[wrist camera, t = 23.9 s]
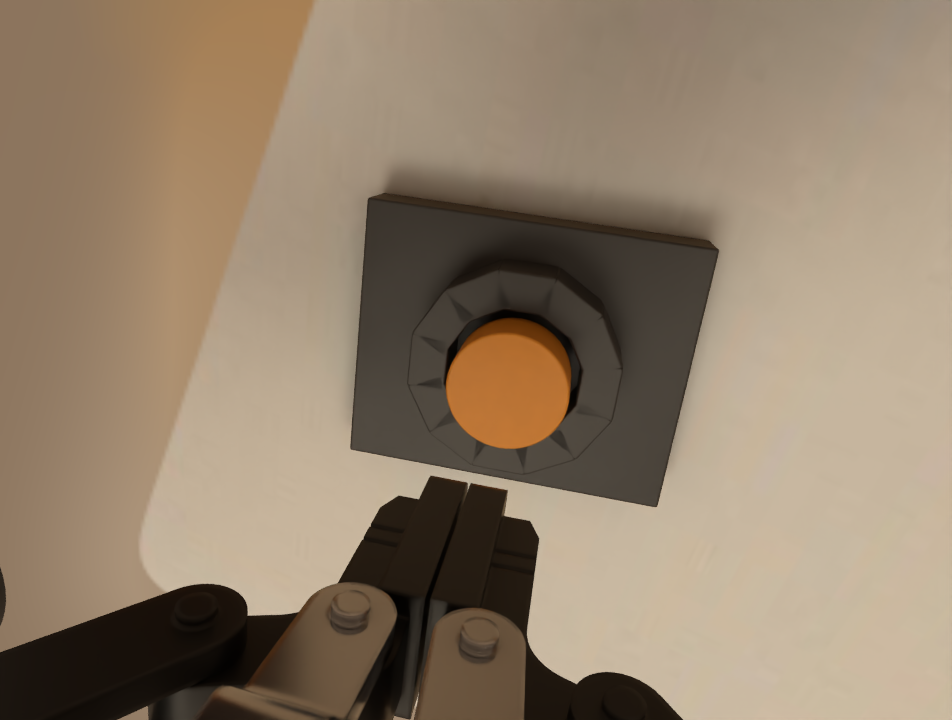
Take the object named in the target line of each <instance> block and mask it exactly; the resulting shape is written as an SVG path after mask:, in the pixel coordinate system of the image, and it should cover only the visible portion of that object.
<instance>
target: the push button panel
mask: <svg viewBox="0 0 952 720" xmlns="http://www.w3.org/2000/svg"><path fill="white" fill-rule="evenodd" d="M718 253H719V250H718V249H717V248H716V247H715V246H714V245H713V244H712V243H711V242H710V241H707V240H700V239H693V238H687V237H680V236H673V235H666V234H659V233H653V232H646V231H639V230H632V229H625V228H618V227H612V226H605V225H598V224H591V223H584V222H578V221H571V220H564V219H557V218H550V217H544V216H537V215H530V214H523V213H516V212H509V211H503V210H496V209H489V208H482V207H475V206H469V205H462V204H455V203H448V202H441V201H435V200H428V199H421V198H414V197H407V196H401V195H394V194H387V193H383V194H379V195H376V196H373V197H370V198H368V205H367V219H366V233H365V247H364V261H363V275H362V290H361V304H360V318H359V332H358V346H357V360H356V374H355V389H354V403H353V417H352V431H351V445H350V448H351V449H352V450H356V451H362V452H367V453H372V454H378V455H383V456H388V457H393V458H399V459H404V460H409V461H414V462H420V463H425V464H430V465H435V466H441V467H446V468H451V469H457V470H462V471H467V472H472V473H478V474H483V475H488V476H493V477H499V478H504V479H509V480H515V481H520V482H525V483H530V484H536V485H541V486H546V487H551V488H557V489H562V490H567V491H572V492H578V493H583V494H588V495H594V496H599V497H604V498H609V499H615V500H620V501H625V502H630V503H636V504H641V505H646V506H652V507H657V505H658V501H659V497H660V493H661V489H662V485H663V481H664V476H665V472H666V468H667V464H668V460H669V456H670V452H671V448H672V443H673V439H674V435H675V431H676V427H677V423H678V419H679V415H680V410H681V406H682V402H683V398H684V394H685V390H686V386H687V381H688V377H689V373H690V369H691V365H692V361H693V357H694V353H695V348H696V344H697V340H698V336H699V332H700V328H701V324H702V320H703V315H704V311H705V307H706V303H707V299H708V295H709V291H710V287H711V282H712V278H713V274H714V270H715V266H716V262H717V258H718ZM502 318H522V319H526V320H530V321H533V322H535V323H538V324H539V325H541V326H543V327H545V328H546V329H548V330H549V331H550V332H551V333H553V334H554V335H555V336H556V337H557V339H558V340H559V341H560V342H561V344H562V345H563V347H564V348H565V350H566V352H567V355H568V357H569V361H570V365H571V387H570V397H569V404H568V408H567V411H566V414H565V416H564V418H563V420H562V422H561V423H560V425H559V426H558V427H557V428H556V430H555V431H554V432H553V433H552V434H550V435H549V436H548V437H546V438H545V439H544V440H542V441H540V442H538V443H536V444H533V445H531V446H527V447H523V448H516V449H504V448H497V447H493V446H490V445H487V444H484V443H482V442H480V441H478V440H476V439H475V438H474V437H472V436H471V435H469V434H468V433H467V432H466V431H465V430H464V429H463V428H462V427H461V426H460V425H459V424H458V422H457V421H456V419H455V418H454V416H453V414H452V412H451V410H450V407H449V405H448V401H447V396H446V380H447V374H448V371H449V368H450V366H451V364H452V362H453V360H454V358H455V357H456V355H457V353H458V352H459V350H460V348H461V347H462V345H463V343H464V342H465V341H466V339H467V338H468V337H469V336H470V335H471V333H472V332H474V331H475V330H476V329H477V328H479V327H480V326H482V325H484V324H486V323H488V322H490V321H493V320H497V319H502Z"/></svg>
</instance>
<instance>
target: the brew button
mask: <svg viewBox="0 0 952 720" xmlns="http://www.w3.org/2000/svg"><path fill="white" fill-rule="evenodd" d="M570 387H571V365H570V361H569V357H568V355H567V352H566V350H565V348H564V347H563V345H562V344H561V342H560V341H559V340H558V339H557V337H556V336H555V335H554V334H553V333H551V332H550V331H549V330H548V329H546V328H545V327H543V326H541V325H539V324H538V323H535V322H533V321H530V320H526V319H522V318H502V319H497V320H493V321H490V322H488V323H486V324H484V325H482V326H480V327H479V328H477V329H476V330H475V331H474V332H472V333H471V335H470V336H469V337H468V338H467V339H466V341H465V342H464V343H463V345H462V347H461V348H460V350H459V352H458V353H457V355H456V357H455V358H454V360H453V362H452V364H451V366H450V368H449V371H448V374H447V380H446V396H447V401H448V405H449V407H450V410H451V412H452V414H453V416H454V418H455V419H456V421H457V422H458V424H459V425H460V426H461V427H462V428H463V429H464V430H465V431H466V432H467V433H468V434H469V435H471V436H472V437H474V438H475V439H476V440H478V441H480V442H482V443H484V444H487V445H490V446H493V447H497V448H504V449H516V448H523V447H527V446H531V445H533V444H536V443H538V442H540V441H542V440H544V439H545V438H546V437H548V436H549V435H550V434H552V433H553V432H554V431H555V430H556V428H557V427H558V426H559V425H560V423H561V422H562V420H563V418H564V416H565V414H566V411H567V408H568V404H569V397H570Z"/></svg>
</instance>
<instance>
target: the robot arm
mask: <svg viewBox="0 0 952 720" xmlns="http://www.w3.org/2000/svg"><path fill="white" fill-rule="evenodd" d="M467 489H468V483H466V482H461V481H456V480H451V479H445V478H440V477H435V476H430V477H429V479H428V482H427V484H426V486H425V488H424V490H423V492H422V494H421V496H420V498H419V499H413V498H408V497H403V496H397V497H396V498H394V499H393V500H391V501H390V502H388V503H387V504H385V505H383V506H382V507H380V509H379V511H378V513H377V514H376V516H375V518H374V520H373V521H372V523H371V527H369V529H368V530H367V532H366V534H365V536H364V539H363V540H362V541H361V543H360V545H359V546H358V548H357V550H356V552H355V553H354V555H353V557H352V559H351V561H350V562H349V564H348V566H347V568H346V569H345V571H344V573H343V575H342V577H341V578H340V580H339V582H338V583H337V584H334V585H330V586H327V587H325V588H323V589H321V590H319V591H317V592H316V593H315V594H313V595H312V596H311V597H310V598H309V599H308V601H307V602H306V603H305V605H304V606H303V607H302V609H301V610H300V611H299V612H297V613H292V614H285V615H260V616H247V615H248V611H247V604H246V601H245V600H244V598H243V597H242V596H241V595H240V594H239V593H238V592H236V591H234V590H233V589H230V588H228V587H225V586H221V585H215V584H197V585H191V586H186V587H183V588H179V589H176V590H173V591H171V592H168V593H165V594H162V595H159V596H157V597H154V598H151V599H148V600H146V601H143V602H140V603H137V604H134V605H131V606H129V607H126V608H123V609H120V610H117V611H115V612H112V613H109V614H106V615H104V616H101V617H98V618H95V619H92V620H90V621H87V622H84V623H81V624H78V625H76V626H73V627H70V628H67V629H64V630H62V631H59V632H56V633H53V634H50V635H48V636H45V637H42V638H39V639H36V640H34V641H31V642H28V643H25V644H22V645H20V646H17V647H14V648H12V649H8V650H6V651H3V652H0V720H117V719H120V718H122V717H124V716H126V715H128V714H131V713H133V712H135V711H137V710H139V709H142V708H144V707H146V706H148V716H149V720H393V718H394V716H397V717H402V718H406V719H411V716H412V713H413V709H414V706H415V703H416V700H417V697H418V703H417V707H416V712H415V717H414V720H683V719H682V718H681V717H680V716H679V715H678V714H677V713H676V712H675V711H674V710H673V709H672V708H671V706H670V705H669V704H668V703H667V702H666V701H665V700H664V699H663V698H662V697H661V696H660V695H659V694H658V693H657V692H656V691H655V690H654V689H652V688H651V687H649V686H648V685H647V684H645V683H643V682H641V681H640V680H638V679H635V678H633V677H630V676H627V675H624V674H619V673H613V672H602V673H595V674H592V675H589V676H587V677H585V678H583V679H582V680H581V681H579V682H578V684H575V683H573V682H571V681H569V680H567V679H565V678H563V677H561V676H559V675H557V674H556V673H554V672H552V671H551V670H550V669H548V668H547V667H546V666H544V665H543V664H542V663H541V662H540V661H539V660H538V658H537V657H536V656H535V655H534V653H533V652H532V650H531V648H530V646H529V643H528V639H527V625H528V618H529V610H530V603H531V596H532V588H533V581H534V573H535V566H536V558H537V551H538V543H539V538H538V536H537V534H536V532H535V530H534V528H533V526H532V524H531V522H530V521H526V520H521V519H516V518H511V517H506V516H504V513H505V507H506V500H507V493H508V490H504V489H498V488H493V487H488V486H483V485H477V484H472V483H471V484H470V487H469V489H468V492H467ZM418 693H419V696H418Z"/></svg>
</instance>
